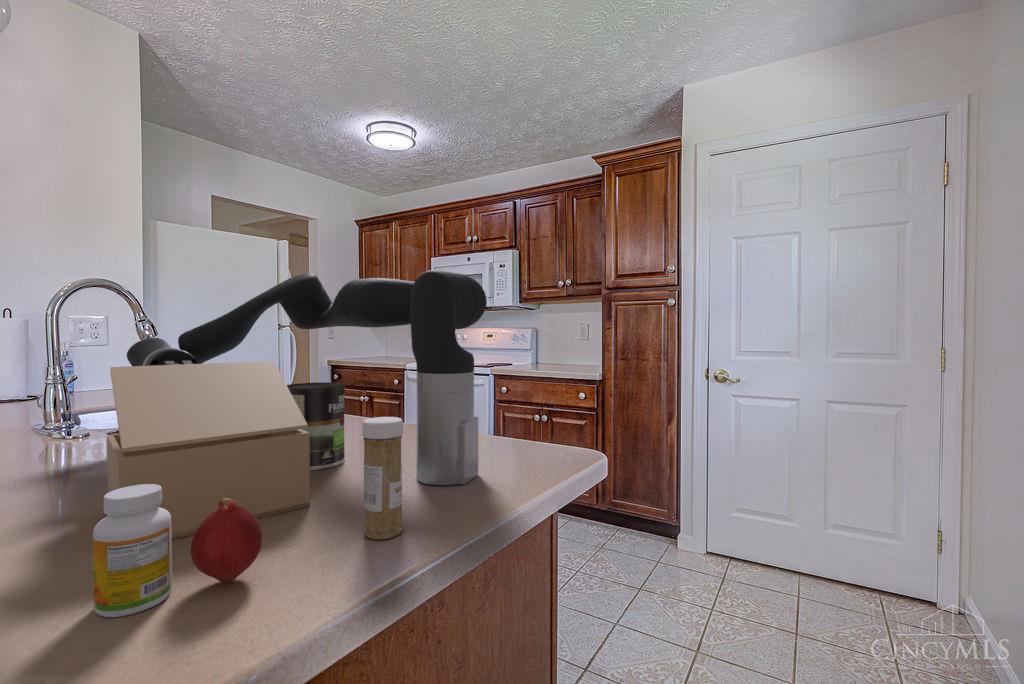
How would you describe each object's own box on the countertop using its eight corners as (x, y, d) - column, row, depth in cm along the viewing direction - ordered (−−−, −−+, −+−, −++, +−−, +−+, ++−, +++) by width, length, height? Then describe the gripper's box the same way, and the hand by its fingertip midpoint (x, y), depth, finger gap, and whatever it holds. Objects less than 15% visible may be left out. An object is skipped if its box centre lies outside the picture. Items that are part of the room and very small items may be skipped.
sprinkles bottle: (408, 535, 56) (408, 420, 56) (369, 544, 54) (369, 424, 53) (395, 522, 60) (395, 414, 60) (357, 530, 57) (357, 417, 57)
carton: (107, 511, 63) (106, 435, 63) (271, 479, 77) (271, 417, 77) (119, 552, 51) (118, 459, 51) (309, 506, 65) (309, 432, 65)
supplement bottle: (106, 592, 44) (105, 485, 43) (178, 580, 46) (177, 478, 46) (83, 625, 39) (81, 505, 38) (164, 610, 41) (163, 496, 41)
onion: (212, 567, 48) (212, 488, 48) (272, 565, 49) (272, 486, 49) (177, 599, 42) (176, 509, 42) (245, 597, 43) (245, 507, 43)
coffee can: (353, 456, 92) (353, 382, 92) (332, 471, 82) (332, 388, 81) (299, 455, 92) (299, 381, 92) (271, 471, 82) (271, 388, 81)
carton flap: (110, 371, 61) (110, 367, 61) (273, 364, 75) (273, 361, 74) (122, 452, 52) (122, 448, 51) (306, 428, 65) (307, 424, 65)
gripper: (122, 349, 81) (134, 353, 69) (212, 347, 90) (237, 351, 78) (122, 393, 82) (134, 406, 69) (212, 387, 91) (238, 398, 78)
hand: (189, 377), depth 73 cm, fingers closed
